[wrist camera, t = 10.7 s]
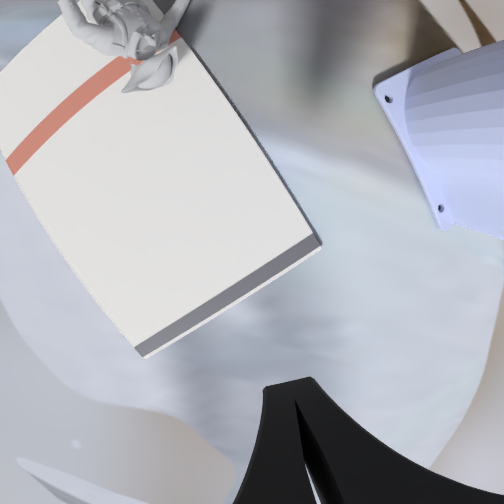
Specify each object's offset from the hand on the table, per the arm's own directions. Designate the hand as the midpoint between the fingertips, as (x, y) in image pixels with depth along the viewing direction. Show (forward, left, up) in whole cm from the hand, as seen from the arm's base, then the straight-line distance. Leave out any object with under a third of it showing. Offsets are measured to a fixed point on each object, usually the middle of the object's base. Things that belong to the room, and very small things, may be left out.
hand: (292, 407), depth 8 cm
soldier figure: (+17, -2, -9) cm, 20 cm away
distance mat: (+10, +2, -9) cm, 14 cm away
